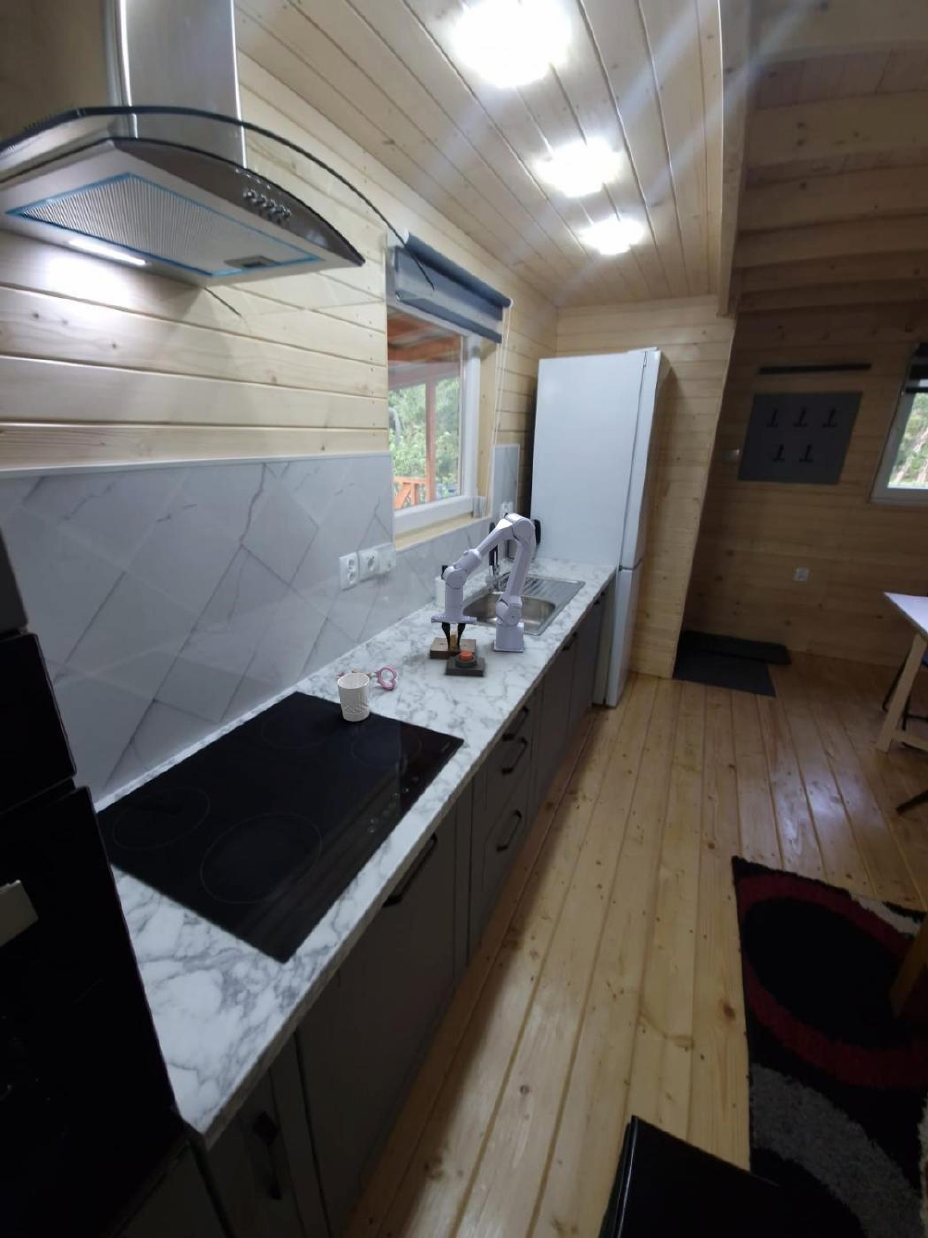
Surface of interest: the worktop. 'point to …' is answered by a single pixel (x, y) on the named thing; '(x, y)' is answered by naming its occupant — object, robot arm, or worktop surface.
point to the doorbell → (465, 666)
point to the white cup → (354, 696)
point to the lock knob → (453, 638)
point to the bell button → (466, 656)
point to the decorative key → (378, 676)
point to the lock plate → (450, 648)
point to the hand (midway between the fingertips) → (453, 643)
